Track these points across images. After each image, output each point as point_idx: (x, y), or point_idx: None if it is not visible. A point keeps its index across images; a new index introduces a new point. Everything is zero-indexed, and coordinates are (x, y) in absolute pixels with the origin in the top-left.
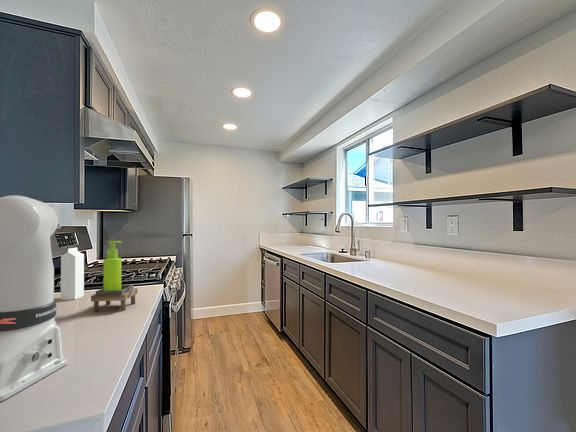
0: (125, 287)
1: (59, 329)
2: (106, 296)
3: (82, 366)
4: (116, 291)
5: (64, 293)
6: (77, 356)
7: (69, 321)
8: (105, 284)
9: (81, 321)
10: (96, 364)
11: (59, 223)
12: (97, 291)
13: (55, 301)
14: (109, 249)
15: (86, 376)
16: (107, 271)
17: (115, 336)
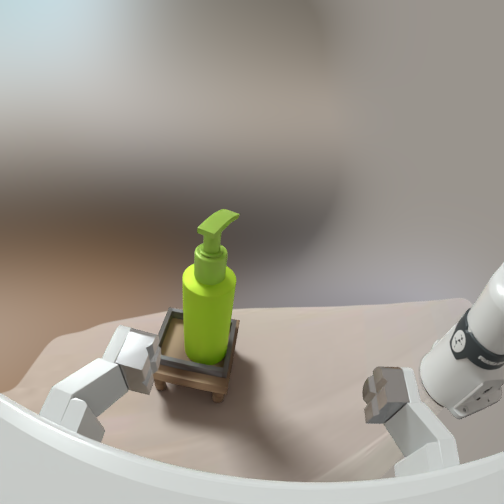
0: (168, 325)
1: (456, 323)
2: (233, 355)
3: (434, 329)
4: (234, 330)
5: None
6: (420, 342)
7: (289, 424)
8: (225, 342)
9: (293, 401)
10: (428, 320)
11: (119, 329)
12: (227, 368)
13: (468, 309)
14: (219, 255)
15: (444, 319)
16: (231, 312)
17: (366, 326)
